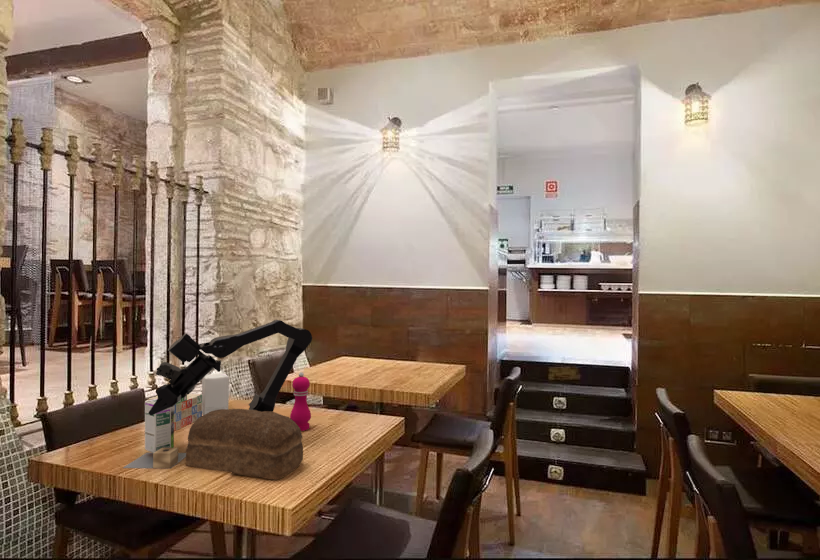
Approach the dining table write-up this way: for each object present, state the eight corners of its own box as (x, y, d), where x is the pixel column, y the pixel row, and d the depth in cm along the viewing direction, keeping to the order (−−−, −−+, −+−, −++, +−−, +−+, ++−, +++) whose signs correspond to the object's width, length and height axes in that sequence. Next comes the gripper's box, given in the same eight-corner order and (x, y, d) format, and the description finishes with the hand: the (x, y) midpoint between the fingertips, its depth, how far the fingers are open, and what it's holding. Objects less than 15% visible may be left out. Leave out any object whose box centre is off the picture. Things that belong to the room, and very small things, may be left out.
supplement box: (228, 415, 184) (229, 376, 185) (204, 417, 180) (204, 378, 180) (225, 409, 192) (225, 372, 192) (201, 412, 188) (201, 374, 188)
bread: (280, 483, 121) (281, 421, 121) (178, 469, 130) (179, 410, 130) (308, 463, 135) (309, 407, 135) (214, 451, 144) (215, 399, 144)
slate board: (190, 455, 140) (191, 452, 140) (170, 471, 128) (170, 468, 128) (146, 455, 139) (147, 452, 140) (122, 470, 127) (122, 467, 127)
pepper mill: (314, 429, 166) (314, 372, 166) (294, 433, 162) (295, 374, 162) (306, 424, 172) (307, 369, 172) (286, 428, 168) (287, 371, 168)
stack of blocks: (187, 417, 180) (187, 385, 180) (202, 418, 179) (202, 386, 179) (146, 435, 159) (147, 398, 159) (163, 436, 158) (164, 399, 158)
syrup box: (154, 453, 134) (155, 402, 134) (143, 449, 138) (144, 399, 138) (174, 448, 139) (174, 398, 139) (163, 444, 142) (164, 396, 143)
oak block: (177, 462, 132) (178, 447, 132) (169, 468, 128) (170, 453, 128) (161, 462, 132) (162, 447, 132) (153, 468, 128) (153, 452, 128)
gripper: (184, 349, 149) (145, 385, 147) (164, 357, 130) (120, 399, 128) (210, 373, 150) (172, 409, 148) (194, 385, 132) (151, 427, 129)
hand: (154, 410), depth 138 cm, fingers closed on syrup box, 8 cm apart
